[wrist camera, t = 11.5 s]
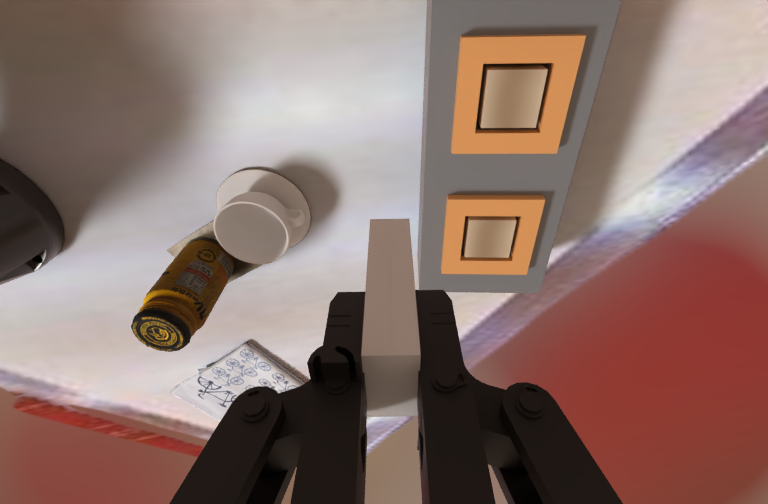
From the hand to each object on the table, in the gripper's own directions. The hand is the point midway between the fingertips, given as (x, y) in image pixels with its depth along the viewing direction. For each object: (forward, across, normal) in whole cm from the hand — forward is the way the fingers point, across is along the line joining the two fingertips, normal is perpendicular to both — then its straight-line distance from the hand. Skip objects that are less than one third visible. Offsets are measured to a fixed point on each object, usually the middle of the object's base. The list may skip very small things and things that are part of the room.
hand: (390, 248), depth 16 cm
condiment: (+24, -20, -18) cm, 37 cm away
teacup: (+24, -14, -12) cm, 30 cm away
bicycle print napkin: (+25, -23, -46) cm, 57 cm away
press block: (+23, +9, -5) cm, 25 cm away
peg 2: (+23, +9, -11) cm, 27 cm away
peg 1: (+23, +9, +1) cm, 25 cm away
